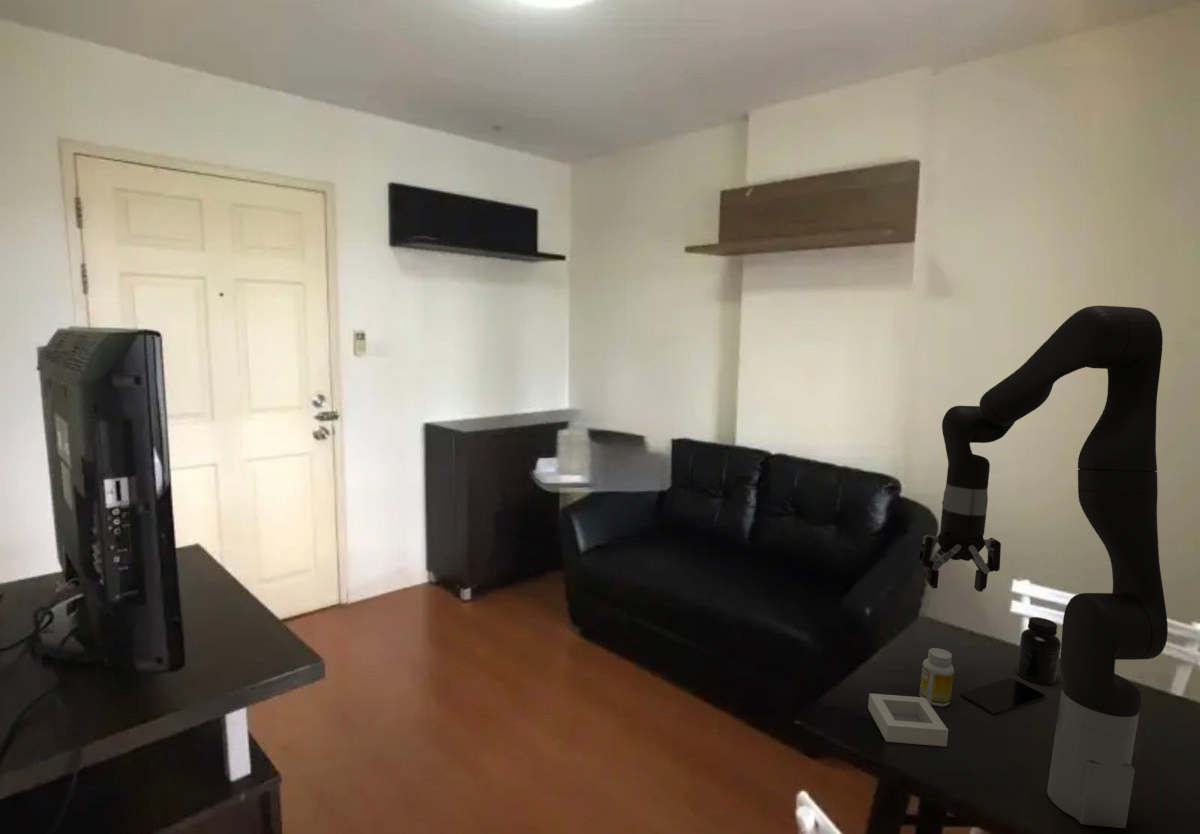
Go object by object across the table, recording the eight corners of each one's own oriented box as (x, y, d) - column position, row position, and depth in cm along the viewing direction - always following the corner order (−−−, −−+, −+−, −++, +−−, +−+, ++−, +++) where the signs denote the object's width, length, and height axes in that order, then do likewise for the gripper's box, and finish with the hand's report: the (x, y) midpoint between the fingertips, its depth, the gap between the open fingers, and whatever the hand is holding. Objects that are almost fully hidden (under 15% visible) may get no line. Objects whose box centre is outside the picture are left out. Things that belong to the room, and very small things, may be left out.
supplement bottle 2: (1045, 670, 141) (1052, 616, 139) (1062, 687, 134) (1070, 631, 132) (1010, 666, 142) (1017, 613, 140) (1025, 683, 135) (1033, 627, 133)
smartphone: (994, 718, 123) (1048, 700, 130) (995, 714, 123) (1048, 695, 130) (956, 696, 130) (1008, 680, 137) (956, 692, 130) (1009, 676, 137)
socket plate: (946, 746, 114) (948, 730, 113) (886, 741, 114) (887, 725, 114) (923, 712, 124) (925, 697, 123) (868, 708, 124) (869, 693, 124)
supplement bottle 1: (914, 697, 128) (919, 651, 127) (926, 688, 132) (932, 643, 130) (942, 710, 124) (948, 662, 123) (955, 701, 128) (960, 654, 126)
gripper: (933, 511, 126) (925, 593, 128) (1012, 515, 124) (1003, 598, 126) (918, 501, 133) (911, 579, 135) (993, 505, 132) (984, 584, 134)
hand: (955, 588), depth 131 cm, fingers open, 8 cm apart
